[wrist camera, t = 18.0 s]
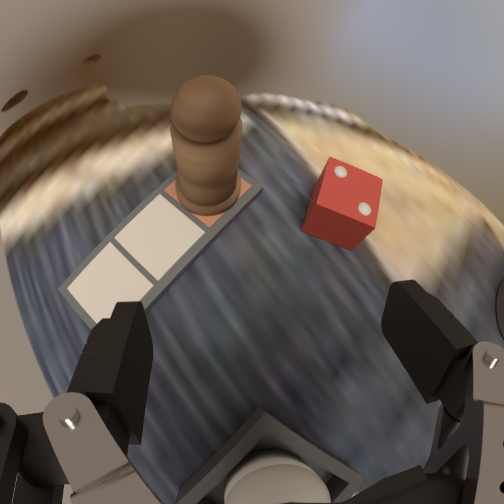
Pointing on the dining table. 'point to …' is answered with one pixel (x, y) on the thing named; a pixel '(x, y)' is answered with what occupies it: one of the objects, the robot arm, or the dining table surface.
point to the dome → (273, 480)
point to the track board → (145, 254)
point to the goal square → (206, 220)
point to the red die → (343, 205)
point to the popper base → (259, 438)
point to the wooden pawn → (207, 144)
